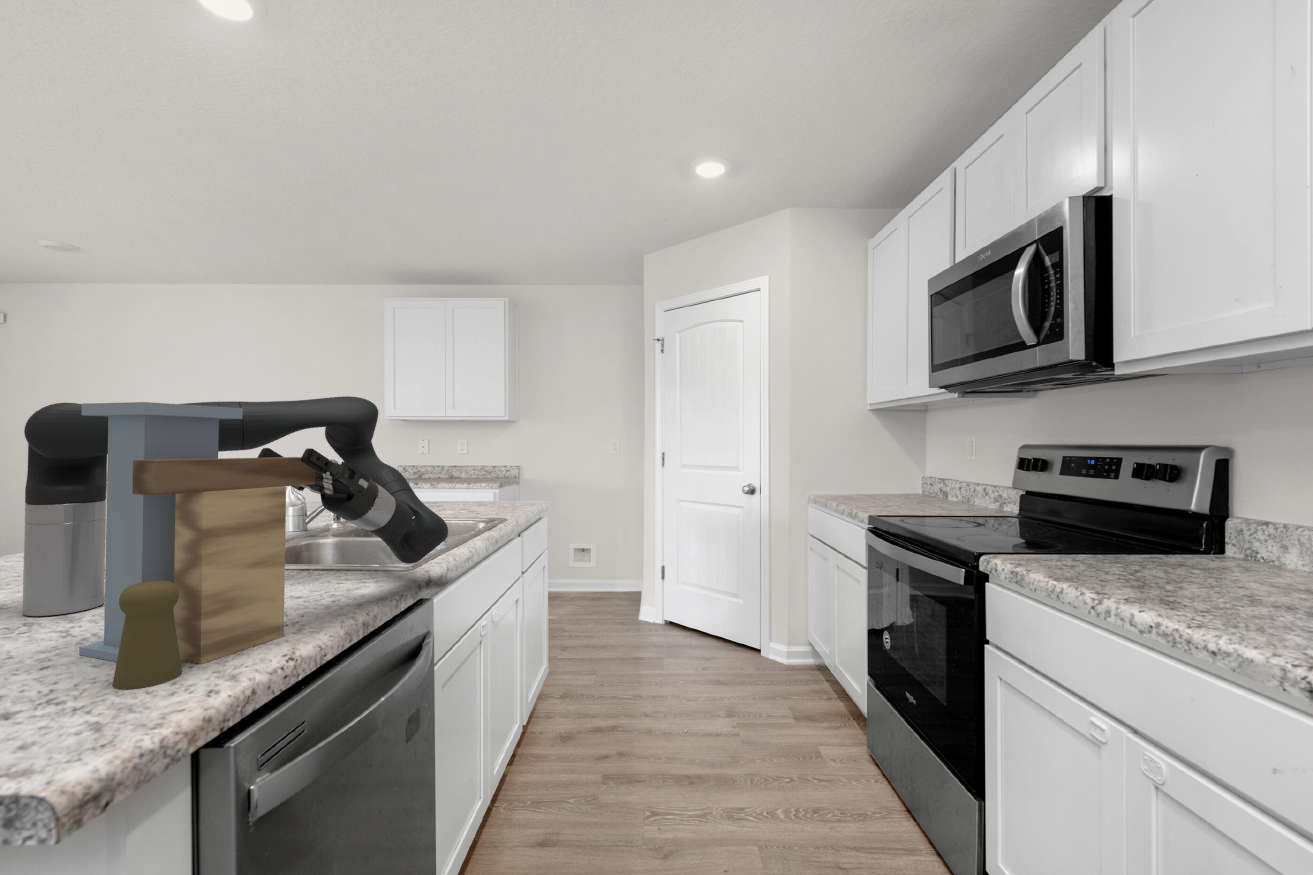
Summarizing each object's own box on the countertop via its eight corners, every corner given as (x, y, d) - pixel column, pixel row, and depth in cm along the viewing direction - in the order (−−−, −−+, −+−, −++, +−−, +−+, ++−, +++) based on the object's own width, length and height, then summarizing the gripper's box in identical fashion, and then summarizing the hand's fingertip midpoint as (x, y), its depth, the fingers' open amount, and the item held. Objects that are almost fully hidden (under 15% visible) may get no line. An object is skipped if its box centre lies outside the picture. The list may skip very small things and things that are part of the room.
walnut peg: (132, 494, 68) (133, 460, 68) (295, 483, 88) (295, 457, 88) (155, 495, 67) (155, 460, 67) (315, 484, 87) (315, 457, 87)
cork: (141, 691, 63) (143, 590, 63) (97, 686, 64) (99, 587, 64) (195, 670, 69) (197, 577, 69) (154, 666, 70) (156, 575, 70)
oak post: (172, 658, 73) (175, 491, 73) (257, 632, 83) (260, 485, 83) (200, 663, 71) (203, 492, 71) (283, 635, 81) (286, 486, 82)
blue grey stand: (76, 654, 74) (81, 403, 74) (179, 626, 85) (183, 409, 86) (139, 666, 70) (144, 402, 70) (238, 635, 81) (242, 408, 82)
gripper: (336, 479, 101) (259, 431, 88) (402, 481, 97) (332, 431, 83) (317, 519, 98) (234, 475, 84) (385, 523, 93) (308, 477, 80)
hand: (283, 453), depth 84 cm, fingers open, 8 cm apart
